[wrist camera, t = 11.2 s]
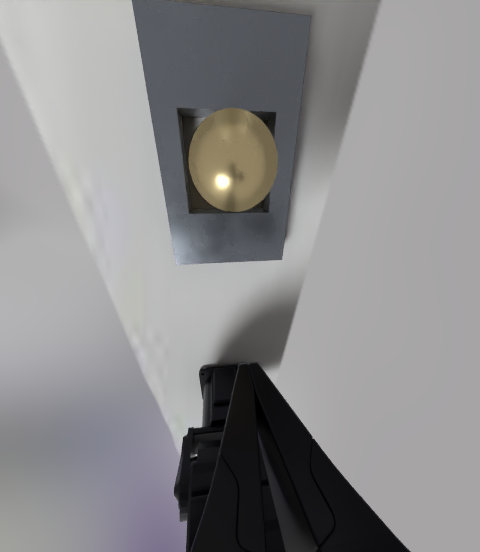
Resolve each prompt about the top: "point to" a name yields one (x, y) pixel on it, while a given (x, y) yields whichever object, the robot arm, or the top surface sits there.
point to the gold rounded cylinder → (233, 159)
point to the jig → (216, 96)
